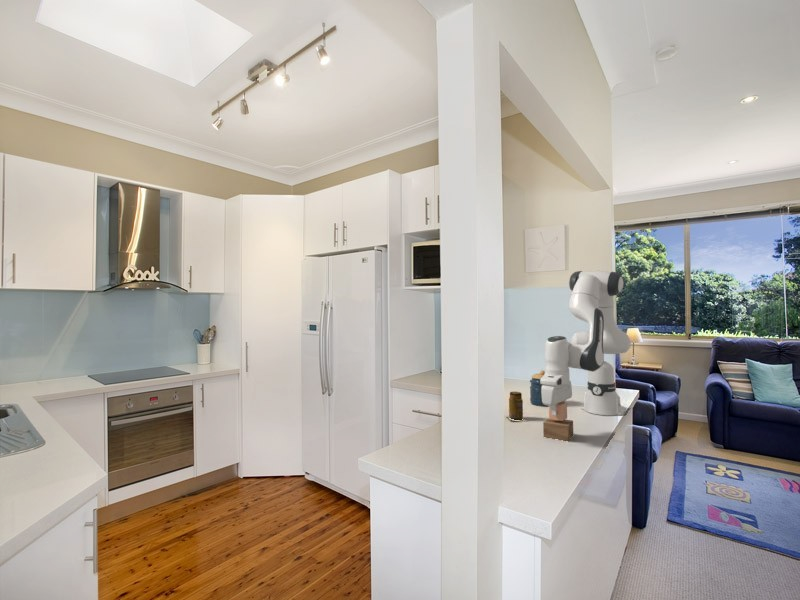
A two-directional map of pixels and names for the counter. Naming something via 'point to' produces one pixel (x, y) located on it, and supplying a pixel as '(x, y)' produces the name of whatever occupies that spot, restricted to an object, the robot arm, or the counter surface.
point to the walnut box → (558, 429)
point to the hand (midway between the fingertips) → (558, 413)
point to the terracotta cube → (559, 412)
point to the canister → (536, 389)
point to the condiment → (516, 406)
